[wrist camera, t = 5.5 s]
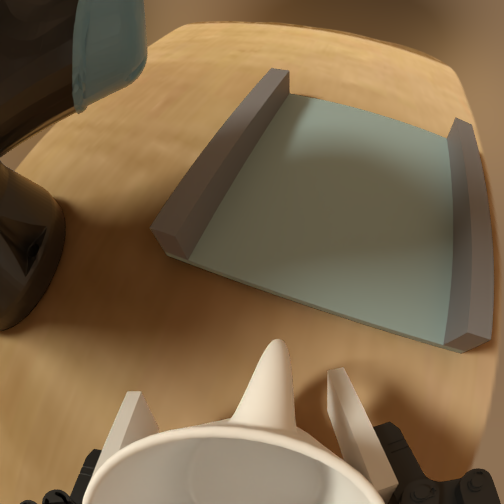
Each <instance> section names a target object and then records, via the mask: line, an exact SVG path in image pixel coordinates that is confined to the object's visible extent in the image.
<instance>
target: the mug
mask: <svg viewBox="0 0 504 504" xmlns="http://www.w3.org/2000/svg"><path fill="white" fill-rule="evenodd" d="M82 504H385V503H384V500H383V499H382V497H381V496H380V494H379V493H378V492H377V490H376V489H375V487H374V486H373V485H372V484H371V483H370V482H369V481H368V480H367V479H366V478H365V477H364V476H363V475H362V474H361V473H360V472H359V471H357V470H356V469H355V468H353V467H352V466H351V465H349V464H348V463H347V462H345V461H344V460H343V459H341V458H340V457H338V456H337V455H336V454H334V453H333V452H332V451H330V450H329V449H328V448H326V447H325V446H324V445H322V444H321V443H320V442H319V441H317V440H316V439H315V438H313V437H312V436H311V435H310V434H308V433H307V432H305V431H304V430H302V429H300V428H299V427H297V426H296V421H295V408H294V392H293V379H292V369H291V362H290V355H289V351H288V348H287V346H286V344H285V342H284V341H283V340H281V339H275V340H273V341H272V342H271V343H270V344H269V345H268V346H267V348H266V349H265V351H264V352H263V354H262V356H261V358H260V360H259V362H258V364H257V367H256V369H255V371H254V373H253V375H252V378H251V380H250V382H249V384H248V387H247V389H246V391H245V393H244V395H243V397H242V399H241V401H240V403H239V405H238V407H237V409H236V411H235V413H234V414H233V416H232V418H228V419H223V420H219V421H215V422H210V423H205V424H201V425H196V426H190V427H186V428H180V429H174V430H169V431H165V432H161V433H157V434H154V435H150V436H148V437H145V438H143V439H140V440H138V441H135V442H133V443H131V444H130V445H128V446H126V447H124V448H122V449H121V450H119V451H118V452H116V453H115V454H114V455H113V456H111V457H110V458H109V459H107V460H106V461H105V462H104V464H103V465H102V466H101V467H100V468H99V469H98V470H97V471H96V473H95V474H94V476H93V478H92V479H91V481H90V483H89V484H88V487H87V489H86V492H85V494H84V497H83V502H82Z"/></svg>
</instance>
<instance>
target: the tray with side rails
mask: <svg viewBox="0 0 504 504" xmlns="http://www.w3.org/2000/svg"><path fill="white" fill-rule="evenodd" d="M150 229H151V231H152V233H153V234H154V236H155V237H156V239H157V241H158V242H159V244H160V245H161V247H162V248H163V250H164V252H165V253H166V255H167V256H170V257H172V258H175V259H178V260H180V261H183V262H186V263H188V264H191V265H194V266H196V267H199V268H202V269H204V270H207V271H210V272H213V273H215V274H218V275H221V276H224V277H226V278H229V279H232V280H235V281H237V282H240V283H243V284H246V285H249V286H251V287H254V288H257V289H260V290H263V291H266V292H268V293H271V294H274V295H277V296H280V297H283V298H286V299H289V300H292V301H295V302H298V303H300V304H303V305H306V306H309V307H312V308H315V309H318V310H321V311H324V312H327V313H330V314H333V315H337V316H340V317H343V318H346V319H349V320H352V321H355V322H358V323H361V324H364V325H368V326H371V327H374V328H377V329H380V330H384V331H387V332H390V333H393V334H397V335H400V336H403V337H406V338H410V339H413V340H416V341H420V342H423V343H427V344H430V345H433V346H437V347H440V348H444V349H447V350H451V351H454V352H458V353H463V352H466V351H468V350H470V349H472V348H475V347H477V346H479V345H481V344H483V343H485V342H487V341H489V340H491V335H492V323H493V305H494V258H493V241H492V229H491V219H490V211H489V203H488V196H487V190H486V184H485V179H484V173H483V168H482V164H481V159H480V155H479V150H478V146H477V142H476V138H475V135H474V131H473V127H472V125H471V124H469V123H467V122H465V121H462V120H460V119H458V118H455V120H454V123H453V125H452V128H451V130H450V132H449V135H448V137H447V139H446V138H444V137H442V136H439V135H437V134H434V133H431V132H429V131H426V130H423V129H421V128H418V127H415V126H412V125H410V124H407V123H404V122H401V121H398V120H395V119H392V118H388V117H385V116H382V115H379V114H375V113H372V112H368V111H365V110H361V109H358V108H354V107H350V106H346V105H342V104H338V103H334V102H329V101H325V100H320V99H316V98H311V97H306V96H301V95H295V94H290V93H289V71H288V70H281V69H273V68H271V69H270V70H269V71H268V72H267V74H266V75H265V76H264V77H263V78H262V79H261V80H260V81H259V83H258V84H257V85H256V86H255V87H254V88H253V89H252V91H251V92H250V93H249V94H248V95H247V96H246V98H245V99H244V100H243V101H242V102H241V104H240V105H239V106H238V107H237V108H236V110H235V111H234V112H233V113H232V114H231V116H230V117H229V118H228V119H227V121H226V122H225V123H224V124H223V126H222V127H221V128H220V129H219V131H218V132H217V133H216V135H215V136H214V137H213V138H212V140H211V141H210V142H209V144H208V145H207V146H206V147H205V149H204V150H203V151H202V153H201V154H200V155H199V157H198V158H197V159H196V161H195V162H194V164H193V165H192V166H191V168H190V169H189V170H188V172H187V173H186V175H185V176H184V177H183V179H182V180H181V182H180V183H179V184H178V186H177V187H176V189H175V190H174V192H173V193H172V194H171V196H170V197H169V199H168V200H167V202H166V203H165V205H164V206H163V208H162V209H161V211H160V212H159V214H158V215H157V217H156V218H155V220H154V221H153V223H152V224H151V226H150Z"/></svg>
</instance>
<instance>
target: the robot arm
mask: <svg viewBox="0 0 504 504" xmlns="http://www.w3.org/2000/svg"><path fill="white" fill-rule="evenodd" d="M146 61H147V39H146V25H145V13H144V1H143V0H0V157H2V156H3V155H4V154H6V153H7V152H9V151H10V150H12V149H13V148H15V147H16V146H18V145H19V144H21V143H22V142H24V141H26V140H27V139H29V138H31V137H32V136H34V135H36V134H37V133H39V132H41V131H42V130H44V129H46V128H48V127H49V126H51V125H53V124H55V123H57V122H59V121H60V120H62V119H64V118H66V117H68V116H70V115H72V114H74V113H76V112H77V113H78V114H79V113H82V112H83V111H84V110H85V109H86V108H87V106H88V105H90V104H92V103H94V102H96V101H98V100H100V99H102V98H104V97H106V96H108V95H110V94H112V93H114V92H116V91H118V90H120V89H123V88H125V87H127V86H128V85H130V84H132V83H133V82H134V81H135V80H136V79H137V78H138V77H139V76H140V74H141V73H142V71H143V69H144V67H145V64H146ZM64 239H65V218H64V214H63V211H62V209H61V207H60V206H59V204H58V203H57V202H56V201H55V199H54V198H53V197H52V196H51V195H50V193H49V192H48V191H47V190H45V189H44V188H43V187H41V186H39V185H38V184H36V183H34V182H32V181H31V180H29V179H27V178H25V177H24V176H22V175H20V174H18V173H17V172H15V171H13V170H11V169H10V168H8V167H6V166H5V165H4V164H3V163H2V162H1V161H0V331H1V330H5V329H8V328H10V327H12V326H14V325H16V324H17V323H19V322H20V321H21V320H22V319H23V318H24V317H26V316H27V314H28V313H29V312H30V311H31V310H32V309H33V308H34V307H35V305H36V304H37V303H38V301H39V300H40V298H41V297H42V295H43V294H44V292H45V290H46V289H47V287H48V285H49V283H50V281H51V279H52V277H53V275H54V273H55V270H56V268H57V265H58V263H59V260H60V256H61V253H62V249H63V245H64ZM327 412H328V414H329V417H330V420H331V423H332V426H333V429H334V432H335V435H336V438H337V441H338V444H339V447H340V450H341V453H342V456H343V459H344V461H345V462H347V463H348V464H349V465H351V466H352V467H353V468H355V469H356V470H357V471H359V472H360V473H361V474H362V475H363V476H364V477H365V478H366V479H367V480H368V481H369V482H370V483H371V484H372V485H373V486H374V487H375V489H376V490H377V492H378V493H379V494H380V496H381V497H382V499H383V500H384V503H385V504H501V503H500V500H499V497H498V494H497V491H496V488H495V485H494V482H493V480H492V477H491V475H490V474H489V472H487V471H485V470H484V469H472V470H470V471H469V472H467V473H466V474H465V475H464V476H463V477H462V478H460V479H455V480H450V481H444V482H437V481H433V480H430V479H429V478H427V477H426V476H425V475H424V473H423V472H422V470H421V468H420V466H419V464H418V462H417V460H416V458H415V457H414V455H413V453H412V451H411V449H410V448H409V446H408V444H407V442H406V440H405V439H404V436H403V435H402V433H401V431H400V429H399V428H398V427H396V426H395V425H393V424H392V423H391V422H388V423H385V424H382V425H378V426H375V427H372V425H371V422H370V420H369V418H368V416H367V414H366V412H365V410H364V408H363V406H362V404H361V402H360V400H359V398H358V395H357V393H356V391H355V389H354V387H353V385H352V383H351V381H350V379H349V377H348V375H347V373H346V371H345V369H344V367H341V368H337V369H332V370H327ZM158 432H159V427H158V425H157V423H156V421H155V419H154V417H153V415H152V413H151V411H150V409H149V407H148V405H147V403H146V400H145V398H144V396H143V394H142V392H141V391H127V393H126V395H125V398H124V400H123V402H122V404H121V407H120V409H119V411H118V414H117V416H116V418H115V421H114V423H113V425H112V428H111V430H110V432H109V435H108V437H107V440H106V442H105V444H104V447H103V449H102V450H97V449H94V450H93V451H92V452H91V453H90V454H89V455H88V456H87V457H86V459H85V462H84V464H83V467H82V469H81V471H80V474H79V476H78V478H77V481H76V483H75V486H74V488H73V491H72V493H71V496H68V495H67V494H66V493H65V492H64V491H62V490H52V491H49V492H48V493H46V494H45V496H44V497H43V501H42V504H82V502H83V497H84V494H85V492H86V489H87V487H88V484H89V483H90V481H91V479H92V478H93V476H94V474H95V473H96V471H97V470H98V469H99V468H100V467H101V466H102V465H103V464H104V462H105V461H106V460H107V459H109V458H110V457H111V456H113V455H114V454H115V453H116V452H118V451H119V450H121V449H122V448H124V447H126V446H128V445H130V444H131V443H133V442H135V441H138V440H140V439H143V438H145V437H148V436H150V435H154V434H157V433H158ZM20 504H36V503H35V502H34V501H31V500H25V501H23V502H21V503H20Z"/></svg>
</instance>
